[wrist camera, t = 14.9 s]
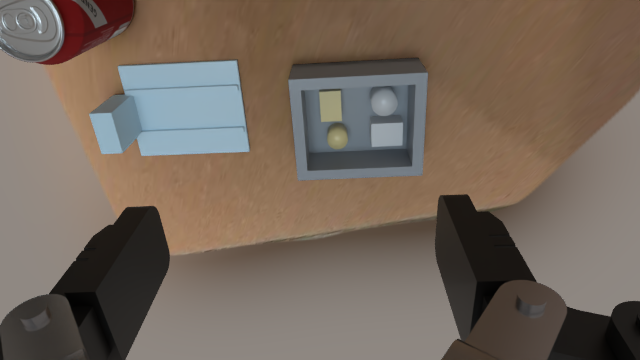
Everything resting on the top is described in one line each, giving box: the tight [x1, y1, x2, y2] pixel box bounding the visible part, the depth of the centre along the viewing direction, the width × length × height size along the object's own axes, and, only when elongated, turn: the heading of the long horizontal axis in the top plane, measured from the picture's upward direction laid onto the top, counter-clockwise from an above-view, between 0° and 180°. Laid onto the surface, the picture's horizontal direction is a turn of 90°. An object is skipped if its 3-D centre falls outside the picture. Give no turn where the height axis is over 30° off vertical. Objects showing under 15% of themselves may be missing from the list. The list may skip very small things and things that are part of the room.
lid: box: [89, 60, 250, 156], centre depth 44 cm, size 10×13×6 cm
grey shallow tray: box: [288, 58, 428, 180], centre depth 44 cm, size 10×12×5 cm
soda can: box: [0, 0, 134, 65], centre depth 36 cm, size 7×7×12 cm
